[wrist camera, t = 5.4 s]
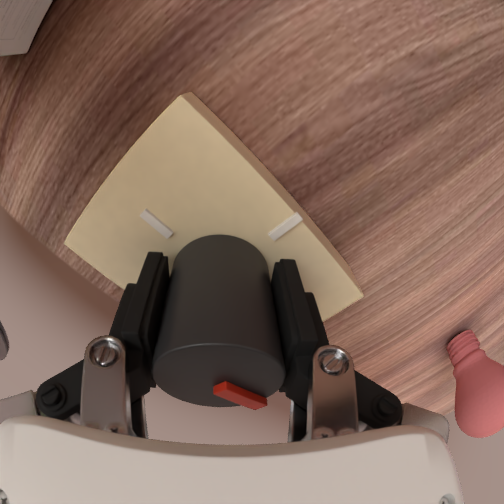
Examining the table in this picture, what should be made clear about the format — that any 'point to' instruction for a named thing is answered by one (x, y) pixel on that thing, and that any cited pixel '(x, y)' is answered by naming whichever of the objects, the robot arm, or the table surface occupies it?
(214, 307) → the dimmer knob
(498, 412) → the light bulb
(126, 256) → the dimmer
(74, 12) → the table surface
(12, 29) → the ink box
